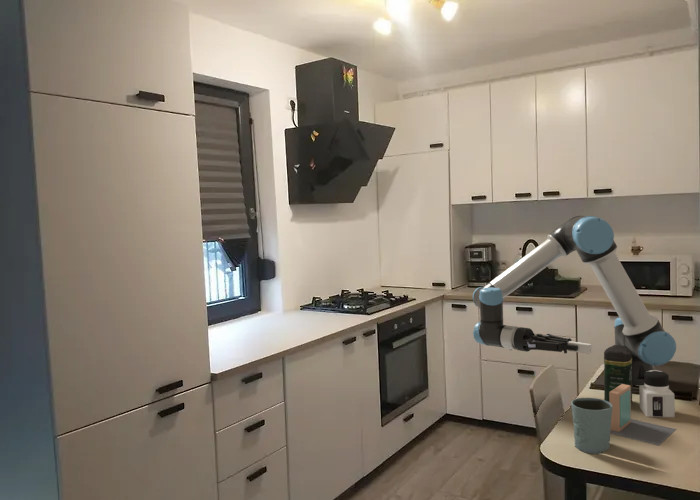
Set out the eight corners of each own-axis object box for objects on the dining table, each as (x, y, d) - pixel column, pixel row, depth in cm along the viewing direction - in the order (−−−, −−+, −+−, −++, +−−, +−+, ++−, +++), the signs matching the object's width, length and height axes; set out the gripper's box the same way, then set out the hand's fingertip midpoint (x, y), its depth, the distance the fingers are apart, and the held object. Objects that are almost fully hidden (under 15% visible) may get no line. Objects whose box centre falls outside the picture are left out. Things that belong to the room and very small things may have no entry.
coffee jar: (629, 410, 179) (628, 351, 178) (602, 406, 184) (601, 349, 182) (634, 400, 187) (634, 344, 186) (608, 397, 192) (607, 342, 190)
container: (675, 419, 171) (674, 376, 170) (646, 418, 172) (646, 375, 171) (666, 409, 178) (665, 368, 177) (639, 409, 180) (638, 368, 179)
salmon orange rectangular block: (622, 420, 170) (622, 383, 170) (631, 422, 169) (631, 385, 168) (610, 429, 164) (609, 392, 163) (619, 432, 162) (618, 393, 162)
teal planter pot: (566, 448, 155) (565, 405, 154) (580, 436, 163) (579, 394, 162) (605, 458, 148) (605, 412, 147) (618, 444, 156) (617, 401, 155)
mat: (619, 418, 174) (619, 416, 174) (676, 431, 162) (676, 429, 162) (599, 433, 164) (599, 430, 164) (658, 447, 153) (658, 445, 153)
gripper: (528, 345, 193) (599, 356, 176) (507, 354, 184) (580, 366, 167) (528, 323, 192) (599, 332, 175) (507, 331, 183) (580, 341, 166)
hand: (590, 349), depth 171 cm, fingers closed
